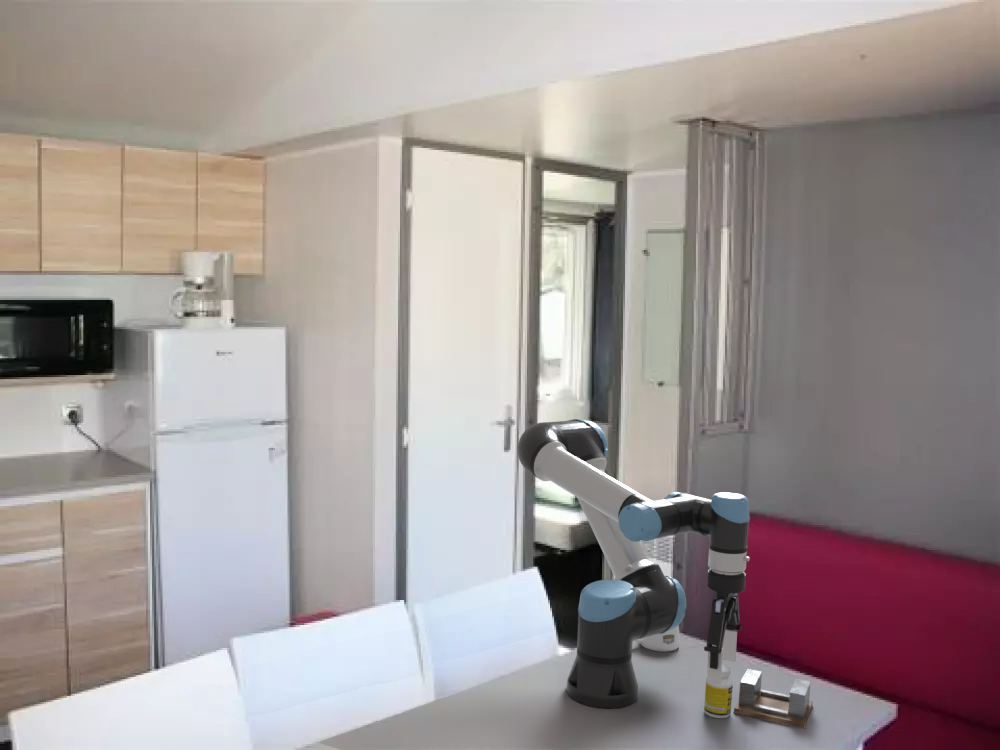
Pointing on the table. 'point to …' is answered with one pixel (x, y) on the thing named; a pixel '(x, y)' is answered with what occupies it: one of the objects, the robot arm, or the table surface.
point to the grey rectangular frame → (774, 695)
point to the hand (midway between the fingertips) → (721, 671)
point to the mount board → (772, 717)
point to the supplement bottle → (719, 696)
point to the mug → (662, 641)
